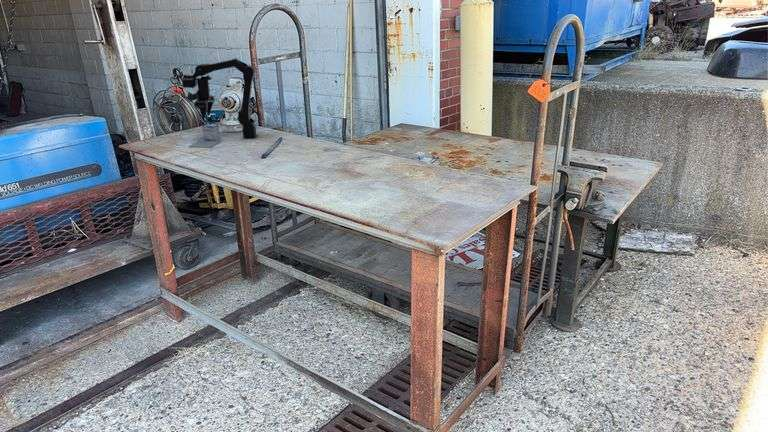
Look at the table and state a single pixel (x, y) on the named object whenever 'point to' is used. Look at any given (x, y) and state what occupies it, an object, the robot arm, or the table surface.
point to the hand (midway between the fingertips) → (206, 116)
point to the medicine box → (211, 132)
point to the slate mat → (205, 144)
